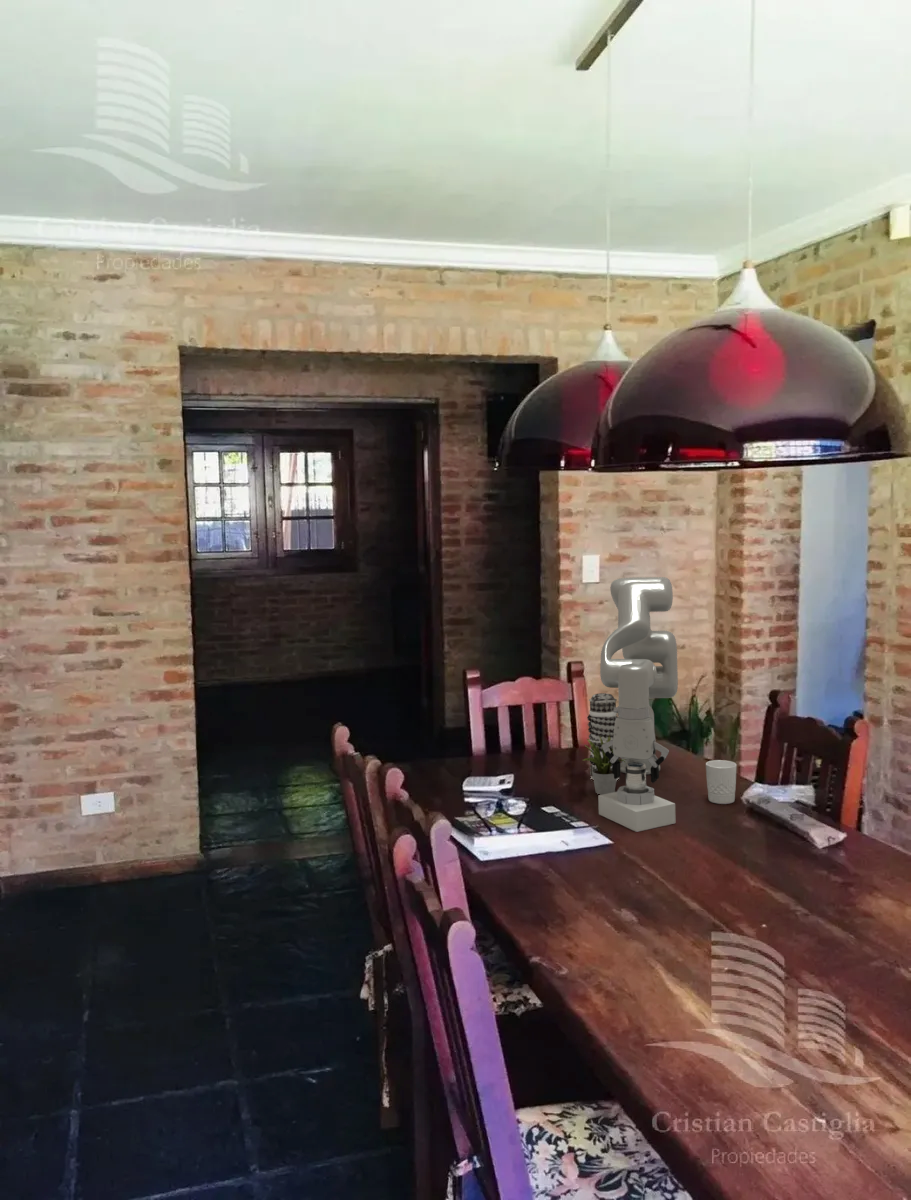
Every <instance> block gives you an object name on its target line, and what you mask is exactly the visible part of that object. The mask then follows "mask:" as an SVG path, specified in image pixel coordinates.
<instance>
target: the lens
mask: <svg viewBox="0 0 911 1200" xmlns="http://www.w3.org/2000/svg"><path fill="white" fill-rule="evenodd" d="M625 786H626V792H627V793H633V794H641V793H646V786H647V775H646V764H644V763H640V762H630V763H627V764H626V773H625Z"/></svg>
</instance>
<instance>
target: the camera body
mask: <svg viewBox="0 0 911 1200" xmlns="http://www.w3.org/2000/svg"><path fill="white" fill-rule="evenodd" d="M597 795H598V794H597ZM597 797H598V815H599V816H602V817H603V818H606V819H608V820H610V821H613V822H615V823H617V824H619V825H621V826H623V827H625V828H627V829H629V830H631V831H633V832H642V831H647V830H651V829H655V828H656V829H657V828H660V827H665V826H669V825H672V824H676V820H677V819H676V803H675V802H672V801H670V800H667V799H665V798H663V797H660V796H657V795H655V788H653V787H650V786H648V785H646V793H641V794H633V793H627V792H626V785H622V786H619V787H618V789H617V791H615V792H613V793H608V794H603V795H598V796H597Z"/></svg>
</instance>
